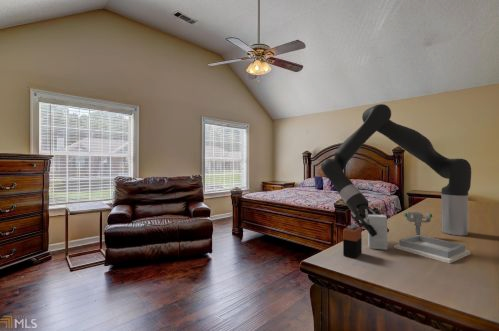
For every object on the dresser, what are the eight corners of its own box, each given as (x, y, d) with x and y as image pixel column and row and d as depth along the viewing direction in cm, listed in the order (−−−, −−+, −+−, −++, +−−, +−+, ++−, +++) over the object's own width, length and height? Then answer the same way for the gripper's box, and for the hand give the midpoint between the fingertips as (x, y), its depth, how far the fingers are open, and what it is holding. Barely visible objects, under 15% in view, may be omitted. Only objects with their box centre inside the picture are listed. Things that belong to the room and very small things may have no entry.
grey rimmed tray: (416, 241, 101) (416, 233, 101) (470, 253, 86) (470, 245, 86) (394, 247, 92) (394, 239, 92) (449, 263, 78) (449, 253, 78)
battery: (342, 256, 84) (342, 226, 84) (349, 250, 90) (349, 222, 90) (356, 259, 82) (356, 228, 82) (362, 253, 87) (361, 224, 87)
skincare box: (385, 246, 94) (385, 214, 94) (387, 250, 90) (387, 216, 90) (367, 245, 96) (367, 213, 96) (368, 248, 92) (368, 215, 92)
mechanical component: (433, 237, 105) (433, 213, 105) (406, 236, 107) (406, 213, 107) (429, 235, 108) (429, 212, 108) (403, 234, 110) (403, 211, 110)
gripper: (347, 193, 96) (376, 231, 86) (370, 191, 103) (399, 225, 93) (336, 205, 100) (362, 242, 90) (358, 202, 108) (385, 236, 97)
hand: (381, 233), depth 92 cm, fingers closed on skincare box, 7 cm apart
